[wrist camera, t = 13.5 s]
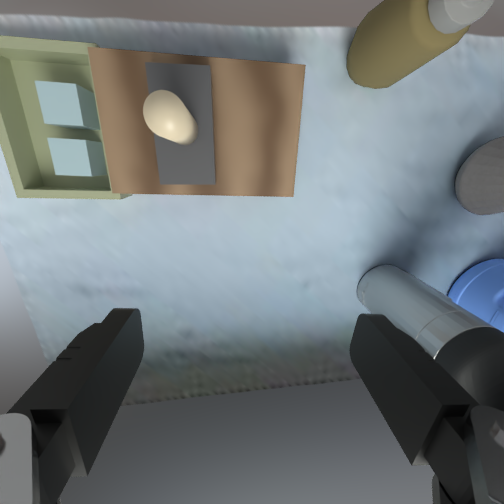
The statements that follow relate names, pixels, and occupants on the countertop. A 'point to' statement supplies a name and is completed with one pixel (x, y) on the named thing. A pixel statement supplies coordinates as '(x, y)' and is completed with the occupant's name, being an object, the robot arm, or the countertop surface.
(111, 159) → the flat wooden board
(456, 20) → the squeeze bottle
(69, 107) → the pale blue cube
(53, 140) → the light blue block
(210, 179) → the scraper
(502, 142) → the coffee pot
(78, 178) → the bin
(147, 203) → the countertop surface
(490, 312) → the water jug
